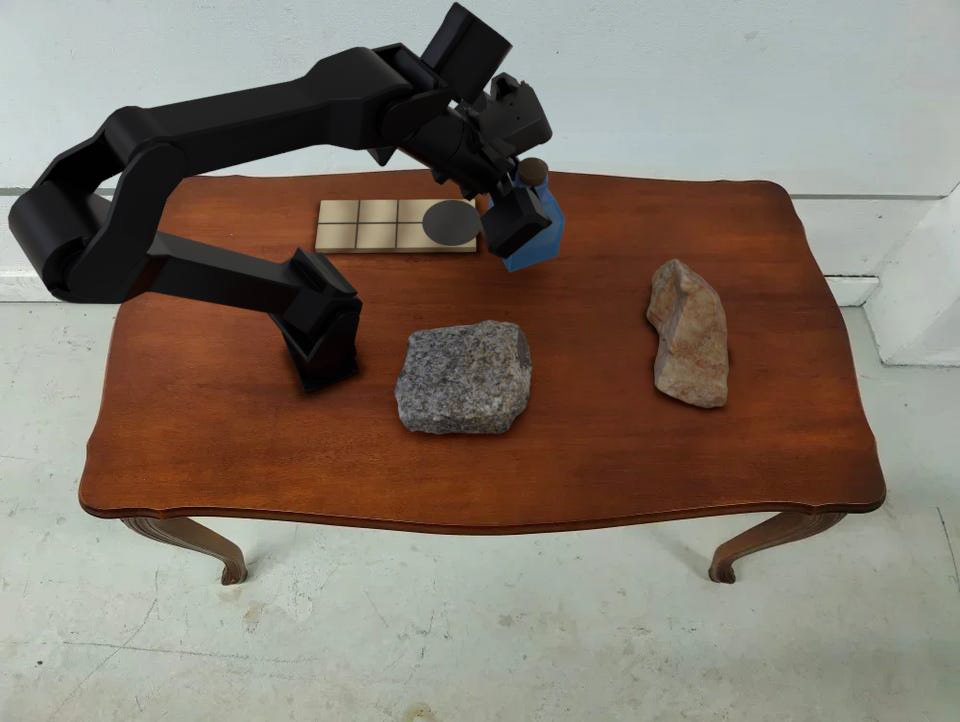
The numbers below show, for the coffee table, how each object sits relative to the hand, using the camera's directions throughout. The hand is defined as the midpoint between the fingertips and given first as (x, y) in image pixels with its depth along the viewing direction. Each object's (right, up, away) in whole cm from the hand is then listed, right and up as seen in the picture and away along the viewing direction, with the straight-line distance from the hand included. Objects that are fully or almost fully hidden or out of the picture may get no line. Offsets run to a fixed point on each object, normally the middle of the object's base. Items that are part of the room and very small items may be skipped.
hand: (539, 202), depth 77 cm
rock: (-8, -21, +2) cm, 22 cm away
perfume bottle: (-2, -4, +6) cm, 7 cm away
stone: (+17, -15, +5) cm, 24 cm away
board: (-17, 0, +14) cm, 22 cm away
